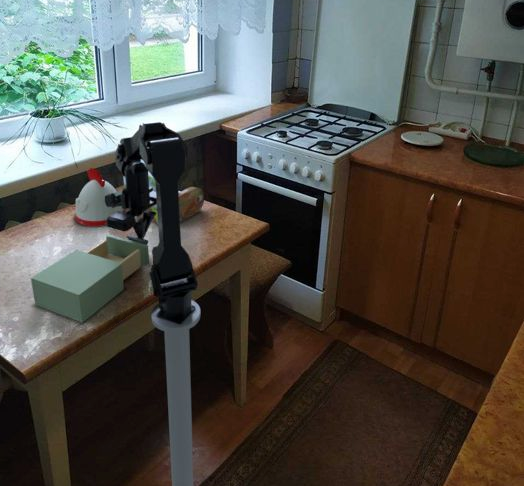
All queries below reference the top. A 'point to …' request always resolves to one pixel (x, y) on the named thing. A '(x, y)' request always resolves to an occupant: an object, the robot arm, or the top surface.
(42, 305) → the cabinet
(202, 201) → the tin
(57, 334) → the top surface
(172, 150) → the robot arm
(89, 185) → the kitchen timer
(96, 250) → the drawer
